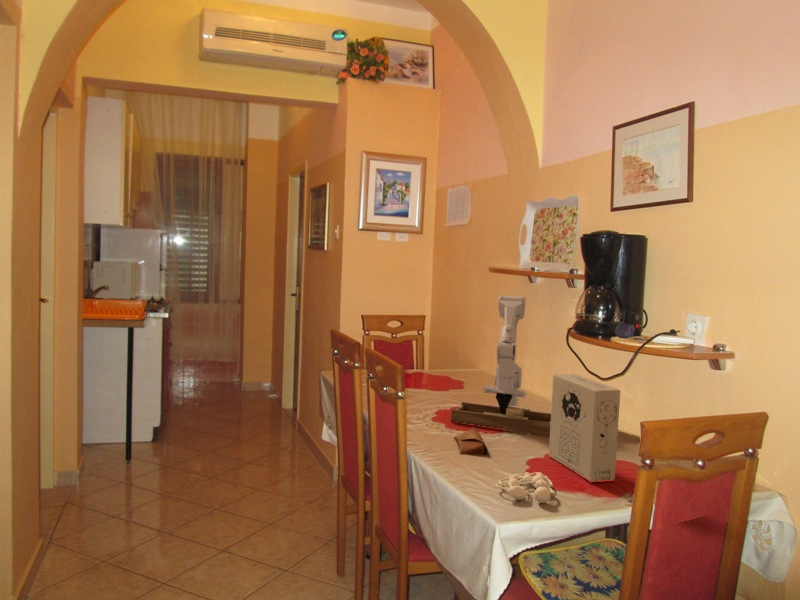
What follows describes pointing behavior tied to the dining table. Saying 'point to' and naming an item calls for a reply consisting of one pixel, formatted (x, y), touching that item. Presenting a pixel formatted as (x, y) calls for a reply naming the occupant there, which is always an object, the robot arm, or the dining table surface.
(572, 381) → the cereal box
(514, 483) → the tangled rod sculpture
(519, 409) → the birch block
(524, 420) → the trap lane
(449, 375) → the dining table surface
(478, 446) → the sunglasses case
